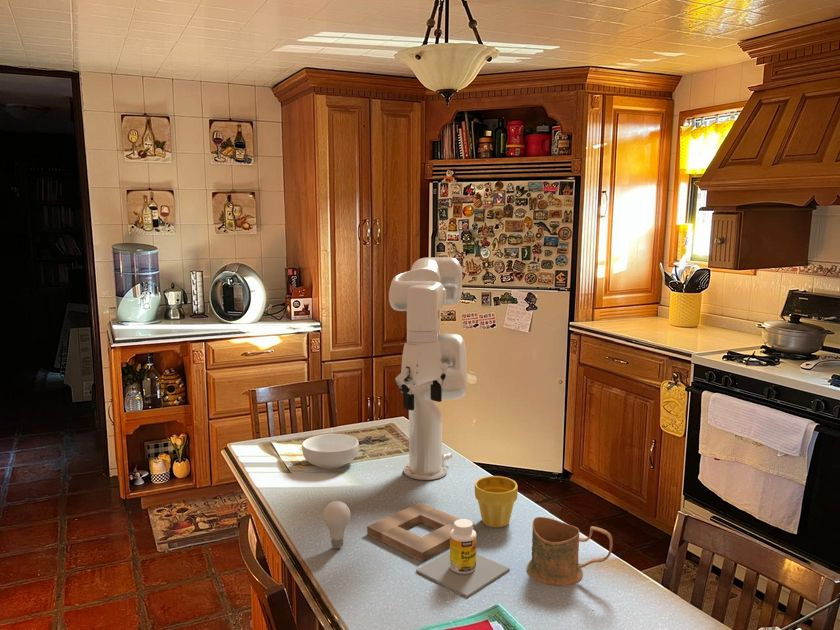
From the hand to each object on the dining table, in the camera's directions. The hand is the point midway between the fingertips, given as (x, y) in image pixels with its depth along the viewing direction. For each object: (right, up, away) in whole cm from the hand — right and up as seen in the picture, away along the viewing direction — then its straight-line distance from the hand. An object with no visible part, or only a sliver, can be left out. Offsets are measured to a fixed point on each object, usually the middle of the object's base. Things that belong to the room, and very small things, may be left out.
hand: (422, 404), depth 166 cm
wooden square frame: (0, -30, -6) cm, 30 cm away
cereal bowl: (-27, -23, +37) cm, 52 cm away
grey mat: (+8, -32, -23) cm, 40 cm away
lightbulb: (-19, -31, -13) cm, 39 cm away
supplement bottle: (+8, -32, -22) cm, 40 cm away
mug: (+30, -33, -24) cm, 51 cm away
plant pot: (+18, -29, 0) cm, 34 cm away
